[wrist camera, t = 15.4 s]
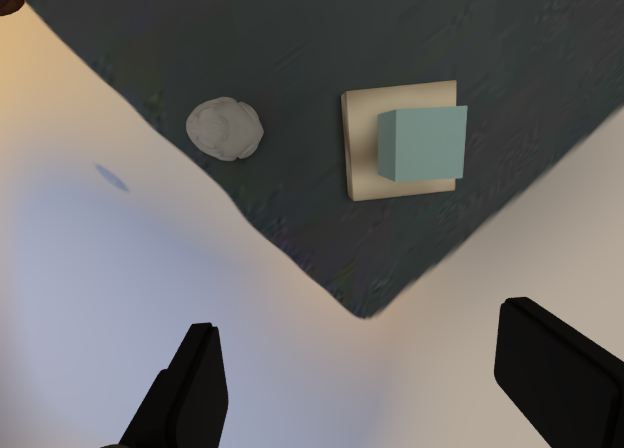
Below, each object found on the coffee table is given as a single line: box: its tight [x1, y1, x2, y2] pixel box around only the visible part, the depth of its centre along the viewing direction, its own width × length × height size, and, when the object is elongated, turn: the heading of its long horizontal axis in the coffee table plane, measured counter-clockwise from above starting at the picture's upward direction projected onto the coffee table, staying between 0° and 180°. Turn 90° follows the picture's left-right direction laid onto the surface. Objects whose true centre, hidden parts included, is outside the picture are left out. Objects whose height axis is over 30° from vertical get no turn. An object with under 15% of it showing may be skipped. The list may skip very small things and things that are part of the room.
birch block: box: [341, 80, 456, 201], centre depth 35 cm, size 11×11×4 cm
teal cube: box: [378, 106, 467, 182], centre depth 31 cm, size 6×6×6 cm
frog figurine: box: [186, 97, 264, 161], centre depth 32 cm, size 6×7×7 cm
